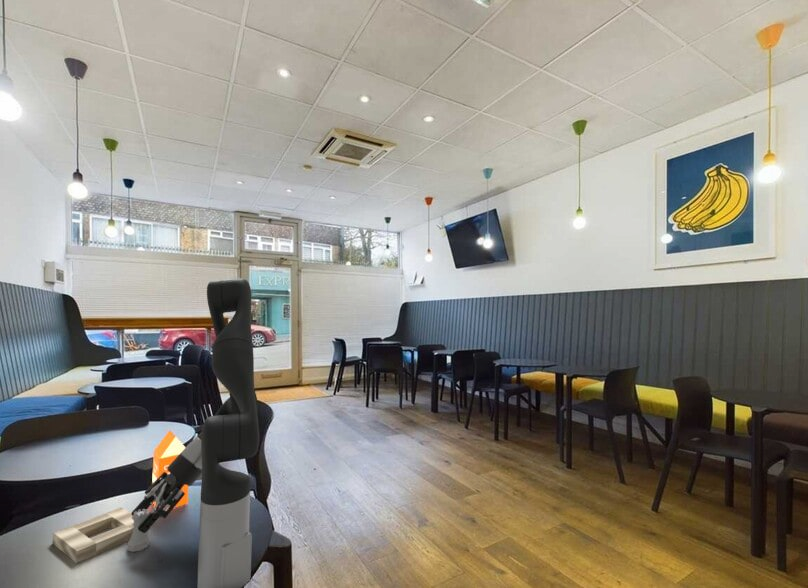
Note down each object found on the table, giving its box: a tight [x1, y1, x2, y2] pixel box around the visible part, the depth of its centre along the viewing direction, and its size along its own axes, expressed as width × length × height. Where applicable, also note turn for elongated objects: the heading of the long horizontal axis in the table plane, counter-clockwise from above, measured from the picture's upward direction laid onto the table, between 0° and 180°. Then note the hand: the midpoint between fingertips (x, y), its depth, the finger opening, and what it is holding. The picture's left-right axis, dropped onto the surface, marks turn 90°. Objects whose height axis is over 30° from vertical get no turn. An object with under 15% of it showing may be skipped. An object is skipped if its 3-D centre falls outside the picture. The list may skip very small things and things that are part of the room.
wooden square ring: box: [52, 507, 134, 564], centre depth 92 cm, size 14×14×2 cm
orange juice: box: [151, 429, 189, 509], centre depth 110 cm, size 8×9×20 cm
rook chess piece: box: [126, 509, 151, 553], centre depth 89 cm, size 4×4×8 cm
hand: (137, 523), depth 89 cm, fingers open, 8 cm apart
